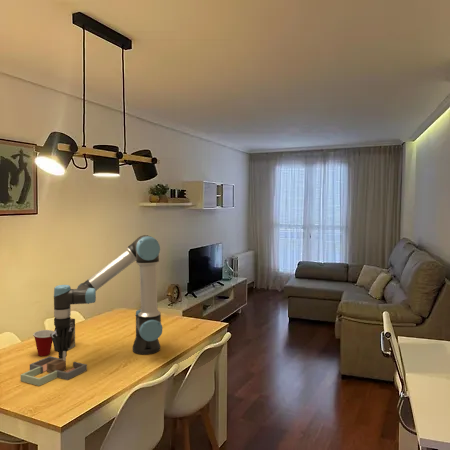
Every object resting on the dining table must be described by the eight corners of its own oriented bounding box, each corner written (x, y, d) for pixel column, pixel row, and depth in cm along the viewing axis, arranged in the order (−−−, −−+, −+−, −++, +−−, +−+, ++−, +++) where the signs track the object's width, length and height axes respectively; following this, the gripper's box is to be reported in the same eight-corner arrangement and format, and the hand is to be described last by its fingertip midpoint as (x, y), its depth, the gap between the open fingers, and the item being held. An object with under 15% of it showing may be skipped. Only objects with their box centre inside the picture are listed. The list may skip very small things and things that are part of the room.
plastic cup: (41, 359, 206) (41, 337, 206) (29, 355, 212) (28, 333, 212) (59, 353, 215) (59, 331, 215) (47, 349, 221) (47, 328, 221)
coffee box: (66, 351, 218) (66, 322, 218) (55, 350, 220) (55, 322, 219) (75, 346, 227) (75, 318, 227) (65, 345, 228) (65, 317, 228)
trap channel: (86, 370, 193) (86, 364, 193) (49, 388, 173) (49, 382, 173) (49, 361, 204) (49, 356, 204) (10, 378, 184) (10, 371, 184)
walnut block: (65, 370, 194) (65, 360, 194) (55, 374, 188) (55, 365, 188) (57, 367, 196) (56, 358, 196) (46, 372, 191) (46, 363, 191)
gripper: (67, 312, 202) (67, 358, 203) (45, 319, 190) (46, 367, 191) (78, 314, 199) (78, 360, 200) (57, 321, 187) (57, 370, 188)
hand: (62, 364), depth 196 cm, fingers closed
